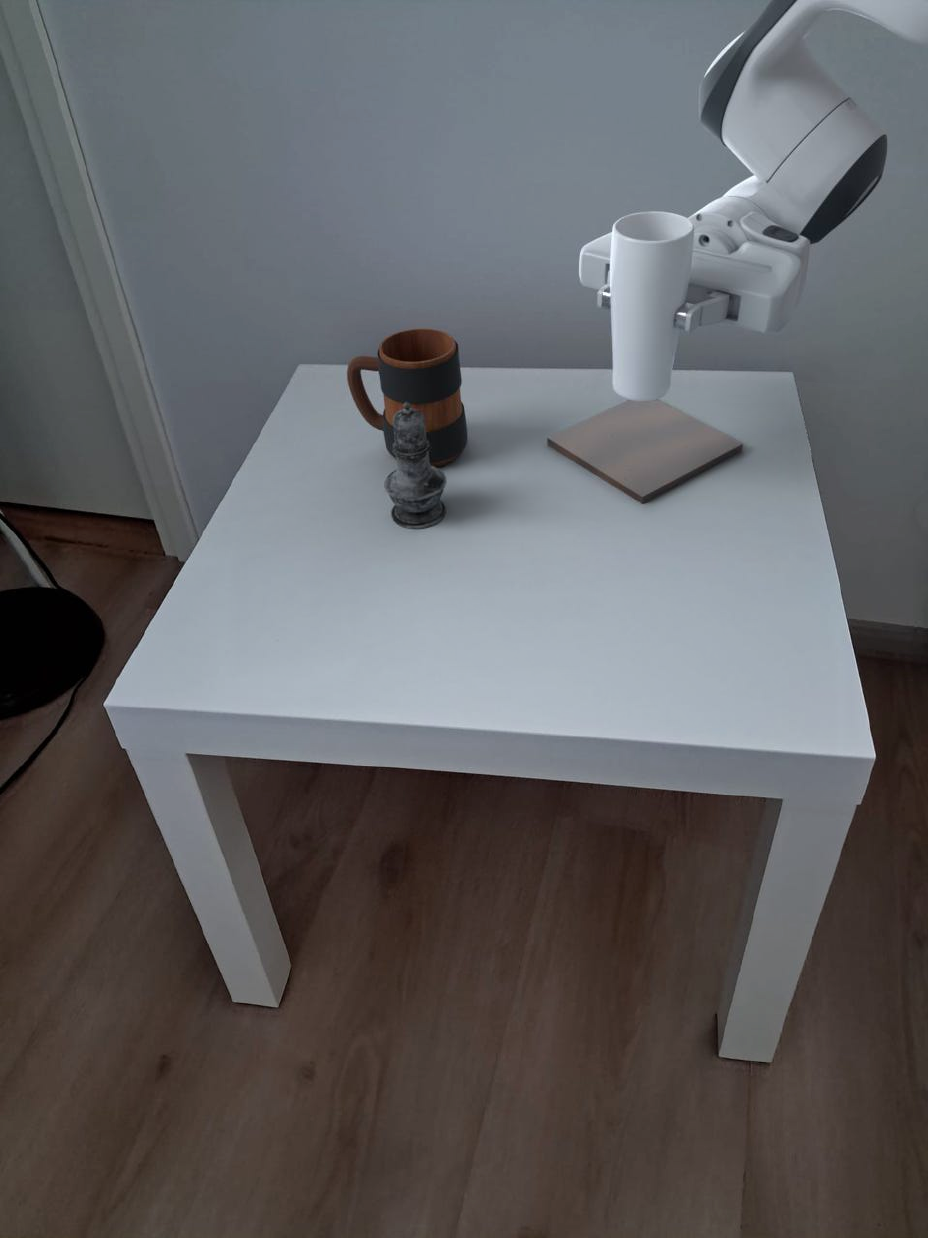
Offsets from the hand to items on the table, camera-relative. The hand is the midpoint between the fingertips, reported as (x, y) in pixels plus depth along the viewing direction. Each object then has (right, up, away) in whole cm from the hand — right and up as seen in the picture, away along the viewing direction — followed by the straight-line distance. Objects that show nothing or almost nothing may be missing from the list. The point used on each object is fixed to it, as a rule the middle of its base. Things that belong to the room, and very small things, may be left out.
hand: (642, 311), depth 81 cm
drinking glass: (+1, -5, +6) cm, 8 cm away
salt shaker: (-20, -16, +10) cm, 27 cm away
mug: (-21, -8, +18) cm, 29 cm away
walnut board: (+3, -9, +16) cm, 18 cm away
